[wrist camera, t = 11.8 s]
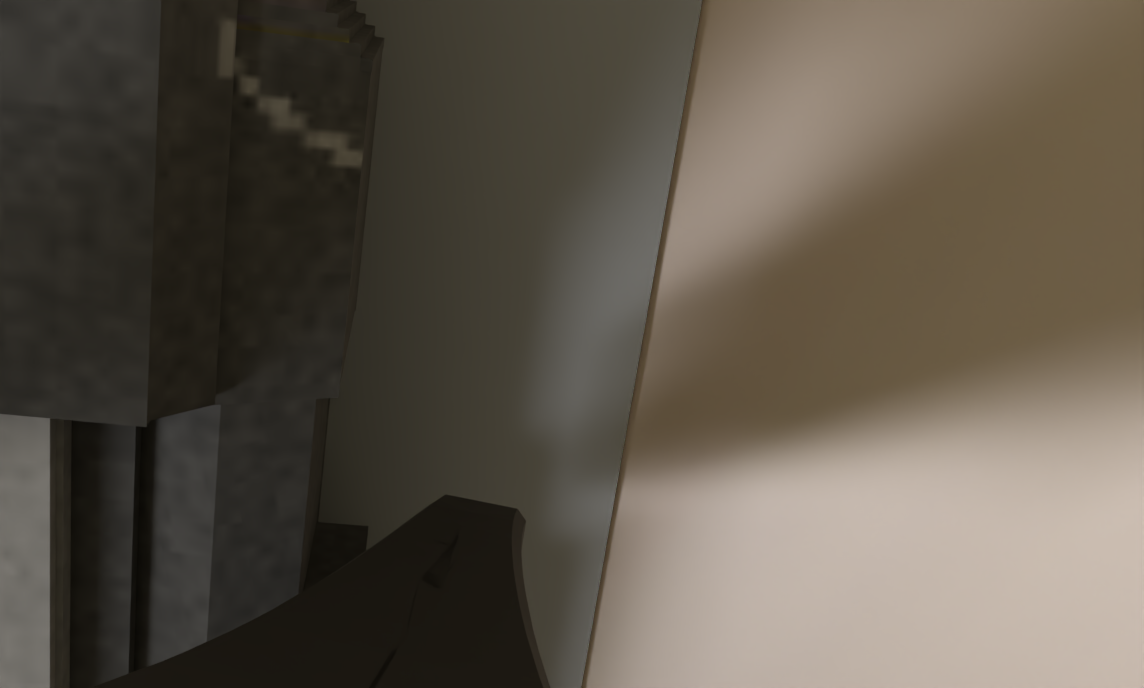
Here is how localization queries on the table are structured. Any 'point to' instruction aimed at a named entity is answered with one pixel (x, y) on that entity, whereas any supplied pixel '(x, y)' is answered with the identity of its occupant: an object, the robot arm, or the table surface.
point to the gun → (171, 317)
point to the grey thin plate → (509, 276)
